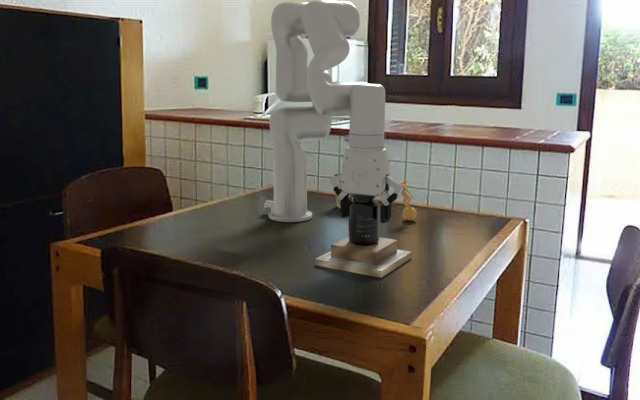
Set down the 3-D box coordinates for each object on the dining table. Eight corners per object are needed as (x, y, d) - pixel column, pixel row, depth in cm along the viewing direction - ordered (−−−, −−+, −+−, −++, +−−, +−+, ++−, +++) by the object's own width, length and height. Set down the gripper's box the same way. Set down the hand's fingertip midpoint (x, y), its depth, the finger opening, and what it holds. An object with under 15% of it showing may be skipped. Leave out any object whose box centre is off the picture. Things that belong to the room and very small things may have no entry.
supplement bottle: (346, 238, 143) (347, 186, 141) (376, 237, 144) (377, 186, 141) (350, 246, 137) (351, 192, 134) (381, 245, 137) (382, 192, 135)
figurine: (422, 223, 175) (424, 181, 173) (403, 225, 173) (405, 182, 171) (408, 216, 183) (409, 176, 180) (389, 218, 181) (391, 177, 178)
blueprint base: (315, 265, 138) (315, 245, 137) (349, 247, 152) (349, 229, 151) (381, 277, 130) (381, 257, 129) (411, 258, 144) (412, 239, 143)
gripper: (323, 141, 137) (322, 217, 140) (396, 146, 128) (394, 228, 131) (340, 137, 143) (339, 211, 146) (410, 142, 134) (408, 220, 138)
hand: (365, 219), depth 139 cm, fingers open, 9 cm apart
